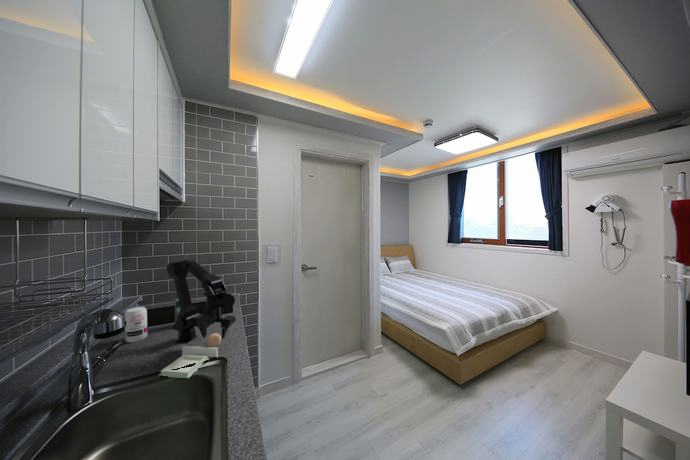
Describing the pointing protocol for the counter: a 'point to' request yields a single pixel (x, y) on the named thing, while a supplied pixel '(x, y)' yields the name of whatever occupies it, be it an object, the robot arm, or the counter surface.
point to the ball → (213, 340)
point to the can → (176, 309)
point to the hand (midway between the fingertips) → (213, 338)
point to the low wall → (200, 351)
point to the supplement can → (136, 324)
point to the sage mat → (183, 362)
